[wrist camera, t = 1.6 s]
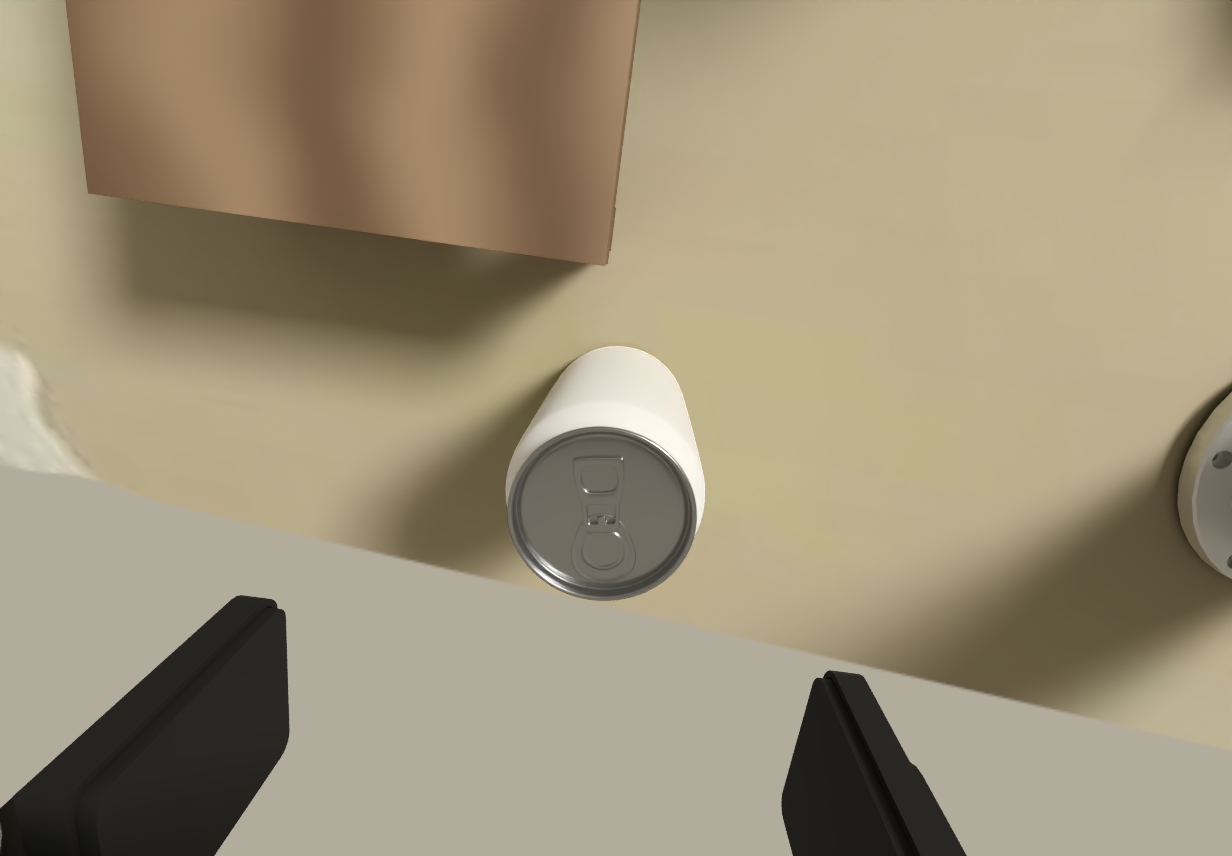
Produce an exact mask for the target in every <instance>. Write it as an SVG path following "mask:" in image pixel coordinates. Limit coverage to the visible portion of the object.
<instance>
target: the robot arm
mask: <svg viewBox="0 0 1232 856" xmlns="http://www.w3.org/2000/svg"><path fill="white" fill-rule="evenodd" d="M1177 504H1178V510H1179V516H1180V522H1181V526H1182V528H1183V530H1184V533H1185V535H1186V537H1187V540H1188V542H1189V544H1190V545H1191V546H1192V548H1193V549H1194V550H1195V551H1196V553H1197V554H1198V555H1199V556H1200V558H1201V559H1202V560H1203V561H1205V562H1206V563H1207V564H1208V565H1210V566H1211V567H1212V568H1214V569H1215V570H1216V571H1218V572H1219V573H1221V574H1223V575H1225V576H1226V577H1228V578H1230V579H1232V392H1231V393H1230V394H1229V395H1228V396H1227V397H1226V398H1225V399H1224V400H1223V401H1222V402H1221V403H1220V404H1219V405H1218V406H1217V407H1216V408H1215V409H1214V411H1213V412H1212V413H1211V415H1210V416H1209V418H1208V419H1207V420H1206V422H1205V423H1204V425H1203V426H1202V427H1201V429H1200V430H1199V431H1198V433H1197V435H1196V437H1195V439H1194V441H1193V443H1192V445H1191V447H1190V449H1189V451H1188V453H1187V455H1186V457H1185V461H1184V464H1183V468H1182V471H1181V475H1180V479H1179V487H1178V502H1177ZM286 641H287V640H286V616H285V612H284V610H282V609H278V608H277V604H276V602H275V601H274V600H272V599H266V598H258V597H250V596H243V595H240V596H236V597H235V598H233V599H232V600H231V601H229V602H228V603H227V604H226V605H225V606H224V607H223V608H222V609H221V610H219V611H218V612H217V613H216V614H215V615H214V616H213V617H212V618H211V619H210V620H208V621H207V622H206V623H205V624H204V625H203V626H202V627H201V628H200V629H198V630H197V631H196V632H195V633H194V634H193V635H192V636H191V637H189V638H188V639H187V640H186V641H185V642H184V643H183V644H182V645H181V646H179V647H178V648H177V649H176V650H175V651H174V652H173V653H172V654H171V655H169V656H168V657H167V658H166V659H165V660H164V661H163V662H162V663H161V664H159V665H158V666H157V667H156V668H155V669H154V670H153V671H152V672H151V673H150V674H148V675H147V676H146V677H145V678H144V679H143V680H142V681H141V682H139V684H137V685H136V686H135V687H134V688H133V689H132V690H131V691H130V692H128V693H127V694H126V695H125V696H124V697H123V698H122V699H121V700H120V701H118V702H117V703H116V704H115V705H114V706H113V707H112V708H111V709H110V710H108V711H107V712H106V713H105V714H104V715H103V716H102V717H101V718H99V719H98V720H97V721H96V722H95V723H94V724H93V725H92V726H91V727H89V728H88V729H87V730H86V731H85V732H84V733H83V734H82V735H81V736H79V737H78V738H77V739H76V740H75V741H74V742H73V743H72V744H71V745H69V746H68V747H67V748H66V749H65V750H64V751H63V752H62V753H61V754H60V755H58V756H57V757H56V758H55V759H54V760H53V761H52V762H51V763H50V764H48V766H46V767H45V768H44V769H43V770H42V771H41V772H39V773H38V774H37V775H36V776H35V777H34V778H33V779H32V780H31V781H30V782H28V783H27V784H26V785H25V786H24V787H23V788H22V789H21V790H19V791H18V792H17V793H16V794H15V795H14V796H13V797H12V798H11V799H10V800H9V801H8V802H7V803H6V804H5V805H4V806H2V807H1V808H0V856H214V855H215V854H216V852H217V850H218V849H219V848H220V846H221V845H222V843H223V842H224V840H225V839H226V837H227V836H228V835H229V833H230V832H231V830H232V829H233V827H234V826H235V824H236V823H237V821H238V820H239V818H240V817H241V815H242V814H243V812H244V811H245V810H246V808H247V807H248V805H249V803H250V802H251V801H252V799H253V798H254V796H255V795H256V793H257V792H258V790H259V789H260V787H261V786H262V784H263V783H264V781H265V780H266V778H267V777H268V775H269V774H270V773H271V771H272V770H273V768H274V767H275V765H276V764H277V762H278V760H279V759H280V758H281V756H282V754H283V753H284V750H285V748H286V745H287V742H288V738H289V704H288V672H287V642H286ZM782 815H783V820H784V823H785V827H786V831H787V835H788V839H789V843H790V846H791V850H792V854H793V856H966V854H965V852H964V850H963V848H962V847H961V845H960V843H959V841H958V839H957V837H956V836H955V834H954V832H953V830H952V828H951V827H950V825H949V823H948V821H947V819H946V817H945V816H944V814H943V812H942V810H941V808H940V806H939V805H938V803H937V801H936V799H935V797H934V796H933V794H932V792H931V790H930V788H929V786H928V785H927V783H926V781H925V779H924V778H923V775H922V774H921V773H920V771H919V770H918V768H917V767H916V766H915V765H913V764H912V763H910V761H909V760H908V758H907V756H906V754H905V752H904V751H903V748H902V747H901V745H900V743H899V741H898V739H897V737H896V736H895V734H894V732H893V730H892V728H891V726H890V724H889V723H888V721H887V719H886V717H885V715H884V713H883V711H882V710H881V708H880V706H879V704H878V702H877V700H876V698H875V697H874V695H873V693H872V691H871V689H870V688H869V685H868V684H867V682H866V680H865V679H864V677H863V676H862V675H860V674H853V673H845V672H838V671H827V672H826V673H825V675H824V677H823V678H816V679H815V680H814V682H813V685H812V688H811V692H810V696H809V699H808V703H807V706H806V710H805V714H804V717H803V721H802V725H801V728H800V732H799V735H798V739H797V742H796V746H795V750H794V753H793V757H792V761H791V765H790V768H789V771H788V775H787V779H786V782H785V786H784V790H783V794H782Z"/></svg>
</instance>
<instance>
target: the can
mask: <svg viewBox="0 0 1232 856" xmlns="http://www.w3.org/2000/svg"><path fill="white" fill-rule="evenodd" d="M505 493H506V504H507V517H508V525H509V530H510V534H511V537H512V540H513V543H514V545H515V547H516V549H517V551H518V553H519V554H520V556H521V558H522V559H523V561H524V562H525V563H526V564H527V566H528V567H529V568H530V569H531V570H532V571H533V572H534V573H535V574H536V575H537V576H538V577H539V578H541V579H542V580H543V581H545V582H546V583H547V584H549V585H550V586H552V587H554V588H556V589H558V590H560V591H562V592H564V593H566V594H569V595H572V596H575V597H579V598H583V599H588V600H597V601H612V600H621V599H626V598H630V597H634V596H637V595H640V594H642V593H645V592H647V591H649V590H651V589H653V588H654V587H656V586H658V585H659V584H661V583H662V582H664V581H665V580H666V579H667V578H668V577H670V576H671V575H672V574H673V573H674V572H675V571H676V569H677V568H678V567H679V566H680V565H681V563H682V562H683V560H684V559H685V557H686V555H687V554H688V552H689V550H690V547H691V545H692V542H693V539H694V536H695V534H696V532H697V530H698V528H699V525H700V522H701V519H702V515H703V511H704V504H705V482H704V476H703V470H702V465H701V461H700V457H699V453H698V449H697V445H696V441H695V437H694V434H693V430H692V426H691V422H690V419H689V415H688V411H687V408H686V404H685V401H684V397H683V394H682V391H681V389H680V386H679V384H678V382H677V381H676V379H675V377H674V376H673V374H672V373H671V372H670V370H669V369H668V368H667V367H666V366H665V365H664V364H663V363H662V362H660V361H659V360H658V359H656V358H655V357H653V356H652V355H650V354H648V353H646V352H644V351H641V350H639V349H635V348H631V347H625V346H608V347H602V348H598V349H595V350H592V351H590V352H587V353H585V354H584V355H582V356H580V357H579V358H577V359H576V360H575V361H573V362H572V363H571V364H570V365H569V366H568V367H567V368H566V369H565V370H564V371H563V373H562V374H561V375H560V377H559V378H558V380H557V381H556V383H555V384H554V386H553V387H552V389H551V390H550V392H549V394H548V395H547V397H546V398H545V400H544V402H543V403H542V405H541V406H540V408H539V410H538V411H537V413H536V415H535V416H534V418H533V419H532V421H531V423H530V424H529V426H528V428H527V429H526V431H525V433H524V434H523V436H522V438H521V440H520V441H519V443H518V445H517V447H516V449H515V451H514V454H513V456H512V459H511V461H510V465H509V468H508V472H507V478H506V489H505Z"/></svg>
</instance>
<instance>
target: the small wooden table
mask: <svg viewBox="0 0 1232 856" xmlns="http://www.w3.org/2000/svg"><path fill="white" fill-rule="evenodd" d="M640 3H641V0H66V8H67V17H68V25H69V34H70V42H71V51H72V60H73V68H74V77H75V85H76V94H77V102H78V111H79V120H80V128H81V137H82V145H83V154H84V162H85V171H86V180H87V188H88V193H90V194H97V195H104V196H111V197H118V198H125V199H133V200H140V201H147V202H154V203H161V204H168V205H175V206H182V207H189V208H197V209H204V210H211V211H218V212H225V213H232V214H239V215H246V216H253V217H261V218H268V219H275V220H282V221H289V222H296V223H303V224H310V225H317V226H325V227H332V228H339V229H346V230H353V231H360V232H367V233H374V234H382V235H389V236H396V237H403V238H410V239H417V240H424V241H431V242H438V243H446V244H453V245H460V246H467V247H474V248H481V249H488V250H495V251H502V252H510V253H517V254H524V255H531V256H538V257H545V258H552V259H559V260H566V261H574V262H581V263H588V264H595V265H602V266H605V265H606V264H608V257H609V251H611V243H612V235H613V227H614V219H615V211H616V208H615V202H616V194H617V186H618V178H619V170H620V162H621V154H622V146H623V138H624V130H625V122H626V114H627V106H628V98H629V90H630V82H631V74H632V66H633V58H634V51H635V43H636V35H637V27H638V19H639V11H640Z"/></svg>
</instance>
